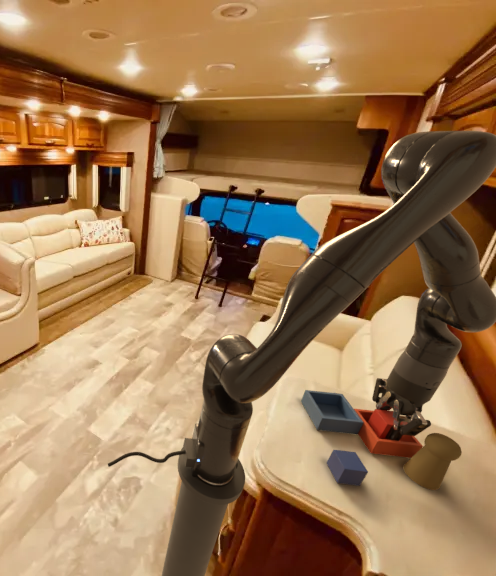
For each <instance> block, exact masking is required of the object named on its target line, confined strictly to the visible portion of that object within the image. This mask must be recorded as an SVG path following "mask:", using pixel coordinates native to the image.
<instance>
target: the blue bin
mask: <svg viewBox="0 0 496 576" xmlns="http://www.w3.org/2000/svg"><path fill="white" fill-rule="evenodd" d="M300 402H301V404H302V406H303V408H304V409H305V412H306V413H307V415H308V417H309V418H310V420H311V422H312V424H313V425H314V427H315V429H316V430H317V431H323V432H332V433H339V434H340V433H341V434H349V435H357V436H358V432H359V431H360V429H361V427H362V425H363V423H364V422H363V421H362V420H361V418H360V417H359V416H358V414H357V413H356V412H355V410H354V409H355V408H354V407H353V406H352V405H351V404H350V402H349V401H348V399H347V397H345V395H344V394H343V393H338V392H330V391H329V392H327V391H318V390H312V389H311V390H309V389H305V390H304V393H303V394H302V398H301V400H300Z"/></svg>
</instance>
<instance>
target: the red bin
mask: <svg viewBox="0 0 496 576" xmlns="http://www.w3.org/2000/svg"><path fill="white" fill-rule="evenodd" d="M353 409H354V410H355V412H356V413H357V414H358V416H359V417H360V418H361V420H362V421H363V422H364V423H363V425H362V427H361V429H360V431H359V432H358V434H357V436H358V437H359V439H360V440H361V442H362V443H363V444H364V446H365V447H366V449H367V450H368V452H369V453H370V454H374V455H375V454H376V455H384V456H389V457H399V458H407V459H410V458H411V457H413V456H414V455H415V454H416V453H417V452H418V451H419V450H420V449H421V448H422V447H423V446H424V445H423V444H422V443H421V442H420V441H419V440H418V438H417V437H416V436H410V435H403V436H402V438H401V440H399V441H394V440H387V439H384V438H379V437H378V436H377V434H376V433H375V432H374V430H373V429H372V428H371V426H370V425H369V424H368V421H369V419H370V417H371V415H372V414H373V412H374V410H371V409H361V408H353Z"/></svg>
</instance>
